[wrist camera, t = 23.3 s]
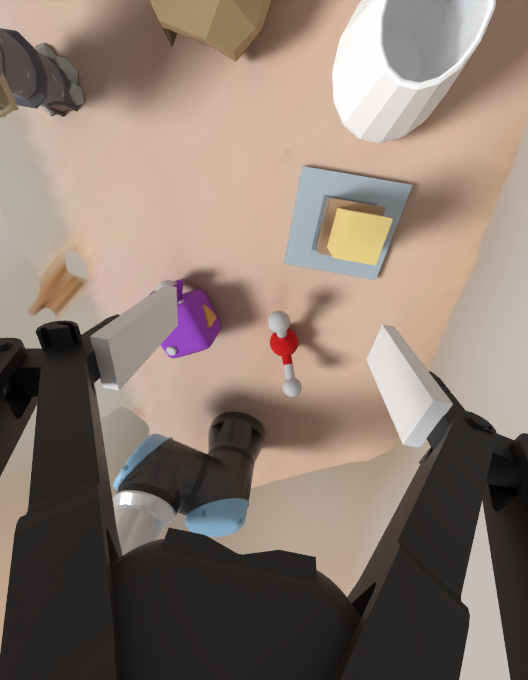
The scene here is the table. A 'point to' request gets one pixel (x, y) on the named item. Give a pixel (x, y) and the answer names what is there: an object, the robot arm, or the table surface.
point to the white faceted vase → (402, 61)
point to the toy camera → (191, 322)
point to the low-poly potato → (214, 22)
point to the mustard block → (358, 236)
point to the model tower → (35, 77)
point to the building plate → (311, 209)
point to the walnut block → (330, 216)
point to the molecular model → (285, 349)
